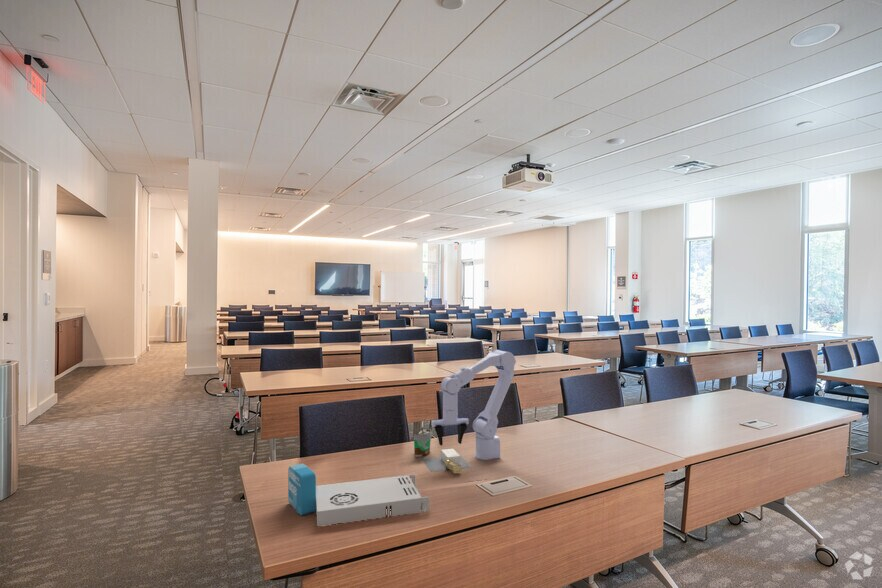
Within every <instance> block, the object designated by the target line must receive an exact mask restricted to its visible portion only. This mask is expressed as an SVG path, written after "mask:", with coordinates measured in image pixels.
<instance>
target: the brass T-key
mask: <svg viewBox="0 0 882 588" xmlns="http://www.w3.org/2000/svg"><path fill="white" fill-rule="evenodd" d="M445 468H446V469H450V470H449V471H452V473H453V474H458V473H462V472H463V471H462V469H463V468H462V466H460V465H459V466H457V465H456V464H454V463H452V462H451V460H450V459H446V460H445Z"/></svg>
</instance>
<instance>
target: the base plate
mask: <svg viewBox="0 0 882 588" xmlns="http://www.w3.org/2000/svg"><path fill="white" fill-rule="evenodd" d="M421 460H422V462H423V463H424V465H425V466H426V468H427V469H428V471H430V473H433V472H440V471H451V470H450V469H446V468H445V463H444V462H443V460H442V459H441V456H437V457H436V456H435V457H426V458H421ZM458 466H459V465H458ZM460 466H462V469H466V468H468V469H469V468H472V466H471V465H470V464H469V462H468V461H467V460H465V458H464V457H463V456H462V455H460Z"/></svg>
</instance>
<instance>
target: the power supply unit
mask: <svg viewBox="0 0 882 588" xmlns="http://www.w3.org/2000/svg"><path fill="white" fill-rule="evenodd" d="M386 509H387V516H390V511H391V516H390V517H392V516H393V517H398V516H397V515H400V516H405V515H404V514H407V515H413V513H414V514H419V513H418V512H421V510H422V512H421V513H425V512H430V497H429V496H422V493H421V492H420V490H419V488H418V487H417V486H416V474H408V475H407V474H405V475H398V476H389V477H380V478H379V477H378V478H372V479H370V478H369V479H365V480H364V479H363V480H355V481H354V480H353V481H346V482H344V481H343V482H337V483H329V484H328V483H327V484H322V485H321V484H320V485H316V510H315V512H316V515H317V516H316V527H317V526H322V525H329V524H336V525H338V524H337V523H343V522H351V523H353V522H352V521H358V522H362V521H361V520H365V521H368V520H367V519H372V520H376V519H375V518H379V519H383V518H382V517H386ZM390 509H391V510H390ZM329 526H330V525H329ZM322 527H323V526H322Z"/></svg>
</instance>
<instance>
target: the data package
mask: <svg viewBox="0 0 882 588" xmlns="http://www.w3.org/2000/svg"><path fill="white" fill-rule="evenodd" d="M287 470H288V471H287V472H288V473H287V475H288V476H287V477H288V478H287V479H288V481H287V482H288V486H287V488H288V490H287V493H288V494H287V499H288V504H289V503H290V504H291V505H292V506H293V507H294V508H293V507H292V506H291V505H290V504H289V505H290V506H291V507H292V508H293V510H295V509H296V510H295V512H297V514H298V515H299V514H300V515H299V516H304V515H308V514H310V513H314V512H316V486H317V477H316V473H315V472H314V470H312V469H311V468H310V467H308V466H307V465H306V464H305V463H299V464H294V465H290V466H289V467H288V469H287Z"/></svg>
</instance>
